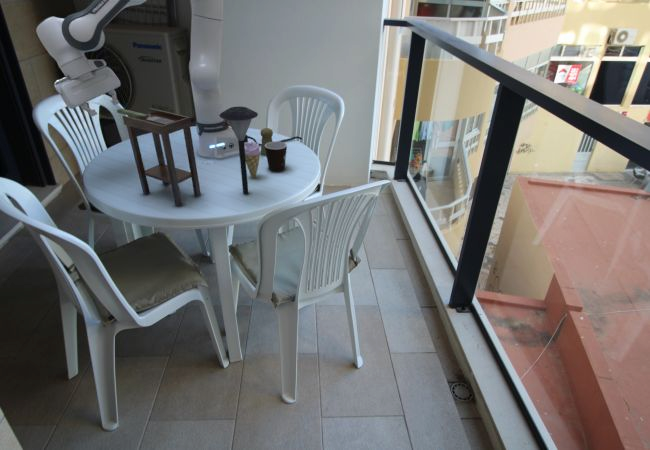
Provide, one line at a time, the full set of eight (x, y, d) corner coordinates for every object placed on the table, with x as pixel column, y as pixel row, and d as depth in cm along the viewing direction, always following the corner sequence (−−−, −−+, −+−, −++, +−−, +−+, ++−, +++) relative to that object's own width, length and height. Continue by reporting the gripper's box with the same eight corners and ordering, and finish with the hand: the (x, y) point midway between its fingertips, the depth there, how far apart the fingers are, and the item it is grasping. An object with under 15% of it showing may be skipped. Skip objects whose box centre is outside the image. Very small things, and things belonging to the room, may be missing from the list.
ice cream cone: (246, 182, 147) (243, 144, 139) (241, 176, 152) (238, 138, 144) (263, 179, 150) (261, 141, 142) (258, 173, 154) (255, 136, 146)
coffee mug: (278, 175, 153) (277, 151, 148) (261, 169, 157) (260, 146, 152) (296, 165, 162) (295, 142, 156) (279, 160, 165) (278, 137, 160)
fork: (115, 113, 129) (114, 110, 129) (124, 110, 132) (123, 107, 131) (166, 126, 120) (165, 123, 119) (175, 123, 122) (174, 120, 122)
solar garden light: (247, 182, 147) (240, 101, 131) (270, 193, 140) (265, 109, 124) (221, 193, 139) (210, 109, 123) (243, 205, 132) (235, 117, 116)
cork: (272, 156, 169) (271, 132, 163) (258, 155, 170) (257, 130, 164) (276, 151, 174) (275, 127, 168) (263, 150, 175) (262, 126, 169)
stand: (141, 194, 137) (122, 116, 122) (166, 182, 145) (151, 107, 130) (178, 208, 130) (162, 126, 115) (202, 194, 138) (190, 117, 123)
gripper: (54, 79, 122) (84, 120, 128) (107, 58, 135) (132, 96, 142) (46, 85, 126) (76, 124, 132) (99, 63, 139) (124, 100, 145)
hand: (106, 109), depth 137 cm, fingers open, 8 cm apart
